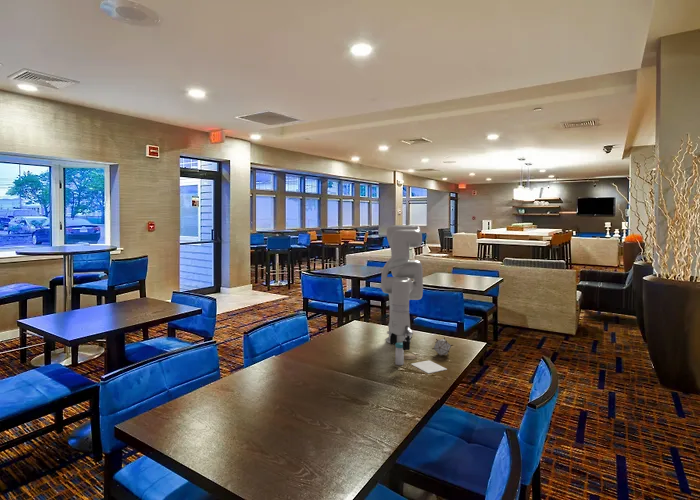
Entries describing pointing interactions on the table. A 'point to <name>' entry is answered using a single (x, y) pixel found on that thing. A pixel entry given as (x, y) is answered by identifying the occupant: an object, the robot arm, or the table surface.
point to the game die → (442, 347)
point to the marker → (399, 354)
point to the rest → (409, 356)
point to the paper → (428, 366)
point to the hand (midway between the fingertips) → (399, 347)
